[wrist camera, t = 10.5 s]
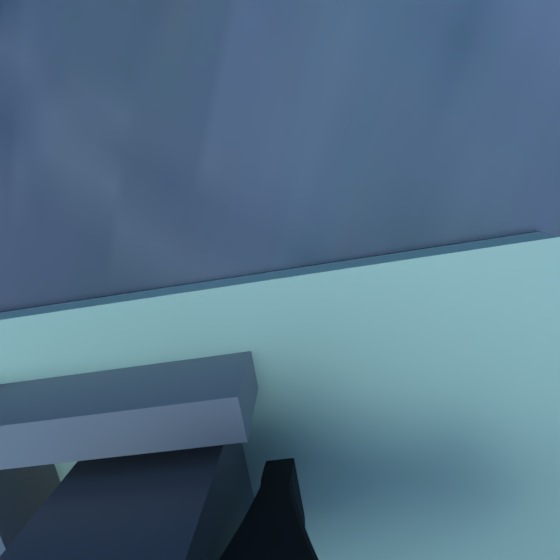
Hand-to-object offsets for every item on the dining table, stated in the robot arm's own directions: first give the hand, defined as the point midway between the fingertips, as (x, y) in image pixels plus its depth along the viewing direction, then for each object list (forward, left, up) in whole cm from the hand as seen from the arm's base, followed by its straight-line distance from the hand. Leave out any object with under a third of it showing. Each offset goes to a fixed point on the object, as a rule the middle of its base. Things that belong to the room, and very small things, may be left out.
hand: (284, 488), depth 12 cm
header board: (0, 0, -2) cm, 2 cm away
